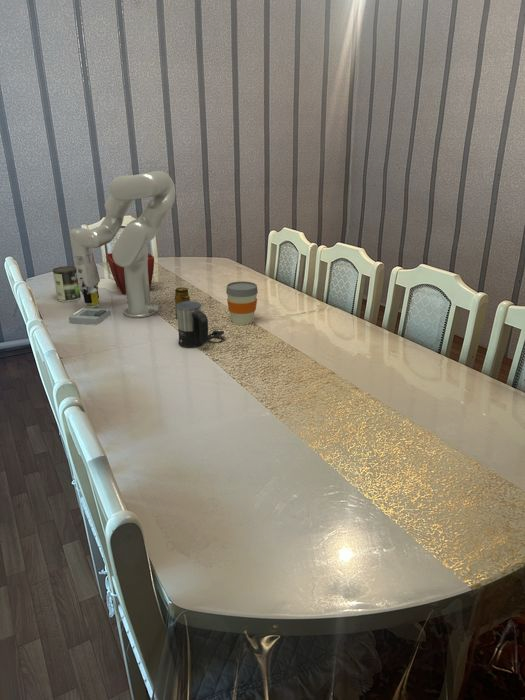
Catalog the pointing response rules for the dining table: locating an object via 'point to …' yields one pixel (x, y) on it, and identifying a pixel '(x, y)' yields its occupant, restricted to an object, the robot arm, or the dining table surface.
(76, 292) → the coffee can
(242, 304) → the reusable coffee cup
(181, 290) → the condiment
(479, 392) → the dining table surface
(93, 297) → the supplement bottle
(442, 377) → the dining table surface
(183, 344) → the milk frother
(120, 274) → the plant pot
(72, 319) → the dock
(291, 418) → the dining table surface
